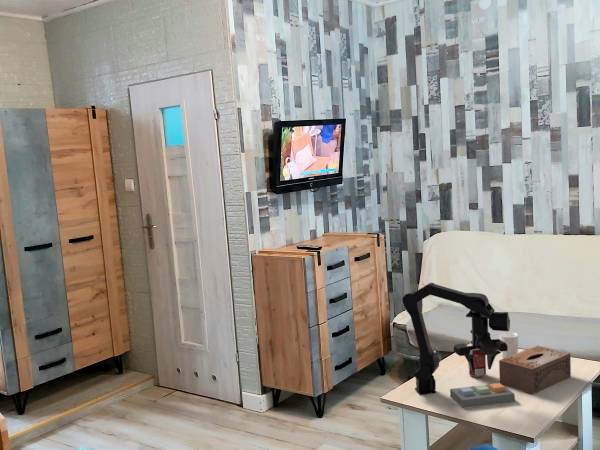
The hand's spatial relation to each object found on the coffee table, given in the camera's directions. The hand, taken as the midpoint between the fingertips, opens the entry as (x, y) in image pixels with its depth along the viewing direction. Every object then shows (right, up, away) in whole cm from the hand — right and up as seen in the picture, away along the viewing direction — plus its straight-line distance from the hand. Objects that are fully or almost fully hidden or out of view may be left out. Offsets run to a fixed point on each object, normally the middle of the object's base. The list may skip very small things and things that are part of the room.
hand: (481, 370), depth 223 cm
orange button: (+6, -9, +2) cm, 11 cm away
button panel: (+1, -11, +1) cm, 11 cm away
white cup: (+26, -5, +45) cm, 52 cm away
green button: (0, -9, +1) cm, 10 cm away
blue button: (-5, -10, 0) cm, 11 cm away
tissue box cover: (+26, -8, +16) cm, 32 cm away
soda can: (+6, -8, +25) cm, 27 cm away
